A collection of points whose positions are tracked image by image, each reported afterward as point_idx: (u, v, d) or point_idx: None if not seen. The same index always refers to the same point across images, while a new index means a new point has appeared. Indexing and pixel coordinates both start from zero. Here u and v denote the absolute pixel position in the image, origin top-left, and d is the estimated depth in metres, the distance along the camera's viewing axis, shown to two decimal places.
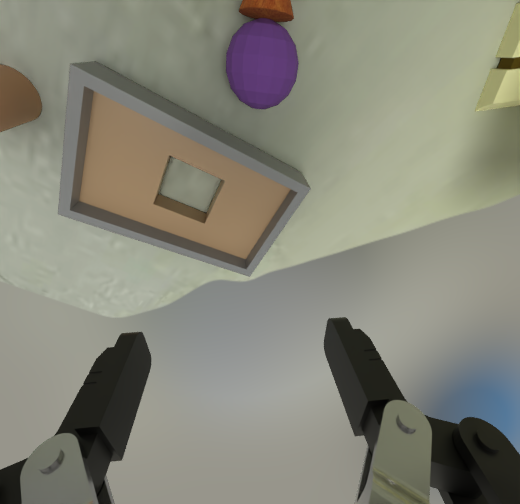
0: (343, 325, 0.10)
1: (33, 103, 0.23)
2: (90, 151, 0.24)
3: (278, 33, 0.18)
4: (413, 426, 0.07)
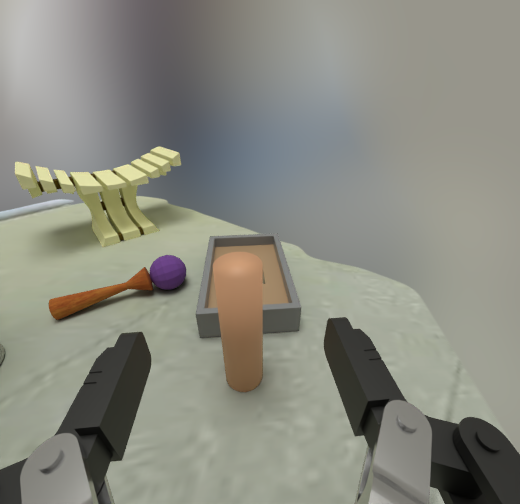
0: (343, 325, 0.10)
1: None
2: None
3: (152, 264, 0.43)
4: (413, 426, 0.07)
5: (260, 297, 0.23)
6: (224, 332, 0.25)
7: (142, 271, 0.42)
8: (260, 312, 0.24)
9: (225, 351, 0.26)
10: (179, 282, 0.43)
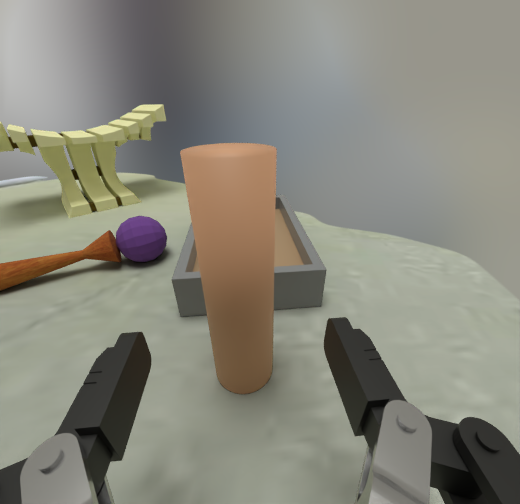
0: (343, 325, 0.10)
1: None
2: None
3: (119, 227, 0.32)
4: (413, 426, 0.07)
5: (272, 217, 0.13)
6: (208, 289, 0.14)
7: (104, 235, 0.31)
8: (271, 250, 0.13)
9: (212, 325, 0.16)
10: (156, 251, 0.32)
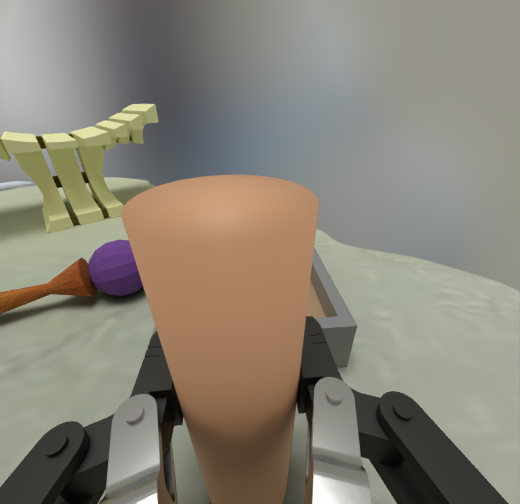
0: None
1: None
2: None
3: None
4: (339, 398, 0.07)
5: (304, 318, 0.07)
6: (188, 423, 0.08)
7: (74, 265, 0.25)
8: (299, 363, 0.08)
9: (197, 457, 0.10)
10: (138, 284, 0.26)
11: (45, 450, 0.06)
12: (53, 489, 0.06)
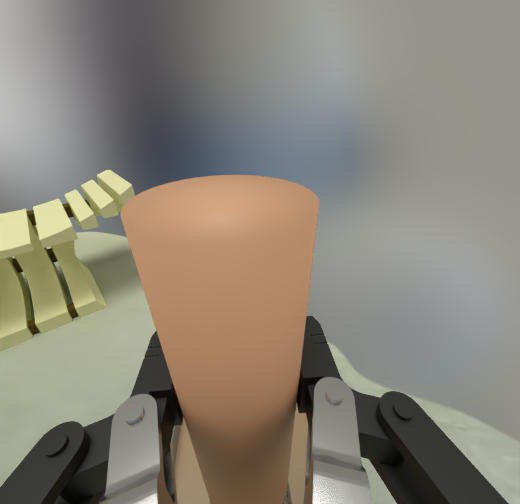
0: None
1: None
2: None
3: None
4: (339, 398, 0.07)
5: (304, 319, 0.07)
6: (188, 423, 0.08)
7: None
8: (299, 364, 0.08)
9: (197, 458, 0.10)
10: None
11: (45, 450, 0.06)
12: (53, 489, 0.06)
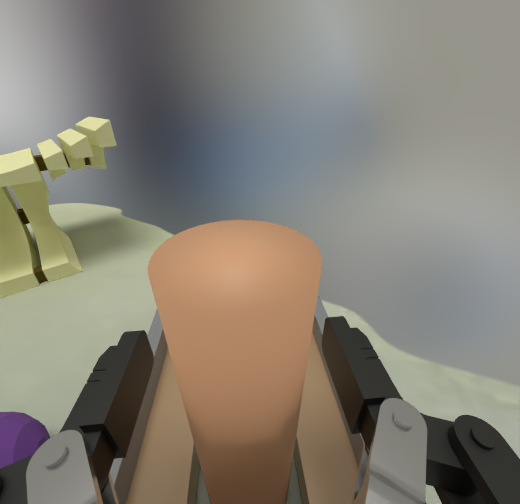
0: (340, 324, 0.10)
1: None
2: None
3: None
4: (409, 424, 0.07)
5: (307, 357, 0.07)
6: (198, 446, 0.09)
7: None
8: (301, 394, 0.08)
9: (204, 475, 0.11)
10: None
11: None
12: None
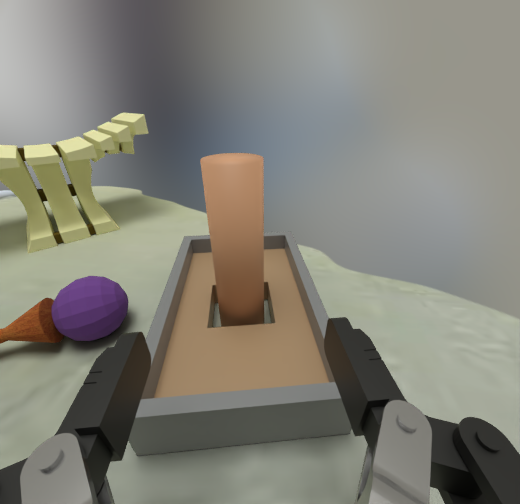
0: (343, 325, 0.10)
1: None
2: None
3: None
4: (413, 426, 0.07)
5: (260, 204, 0.19)
6: (216, 254, 0.20)
7: (34, 308, 0.22)
8: (261, 227, 0.20)
9: (218, 283, 0.22)
10: (108, 329, 0.23)
11: None
12: None
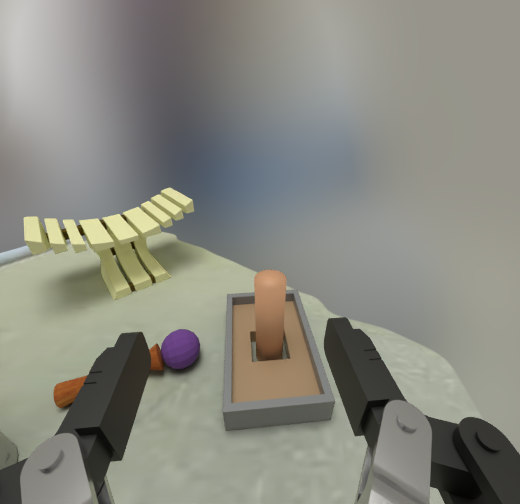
0: (343, 325, 0.10)
1: None
2: None
3: (163, 341, 0.40)
4: (413, 426, 0.07)
5: (284, 300, 0.35)
6: (259, 323, 0.37)
7: (153, 351, 0.39)
8: (284, 309, 0.36)
9: (259, 337, 0.39)
10: (192, 361, 0.40)
11: None
12: None
